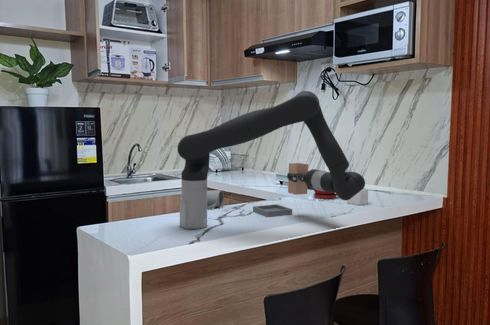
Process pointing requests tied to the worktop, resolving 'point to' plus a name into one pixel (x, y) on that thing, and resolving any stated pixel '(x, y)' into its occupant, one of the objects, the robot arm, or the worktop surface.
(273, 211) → the tray
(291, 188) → the cup
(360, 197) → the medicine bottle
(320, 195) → the plant pot
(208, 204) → the ceramic mug
